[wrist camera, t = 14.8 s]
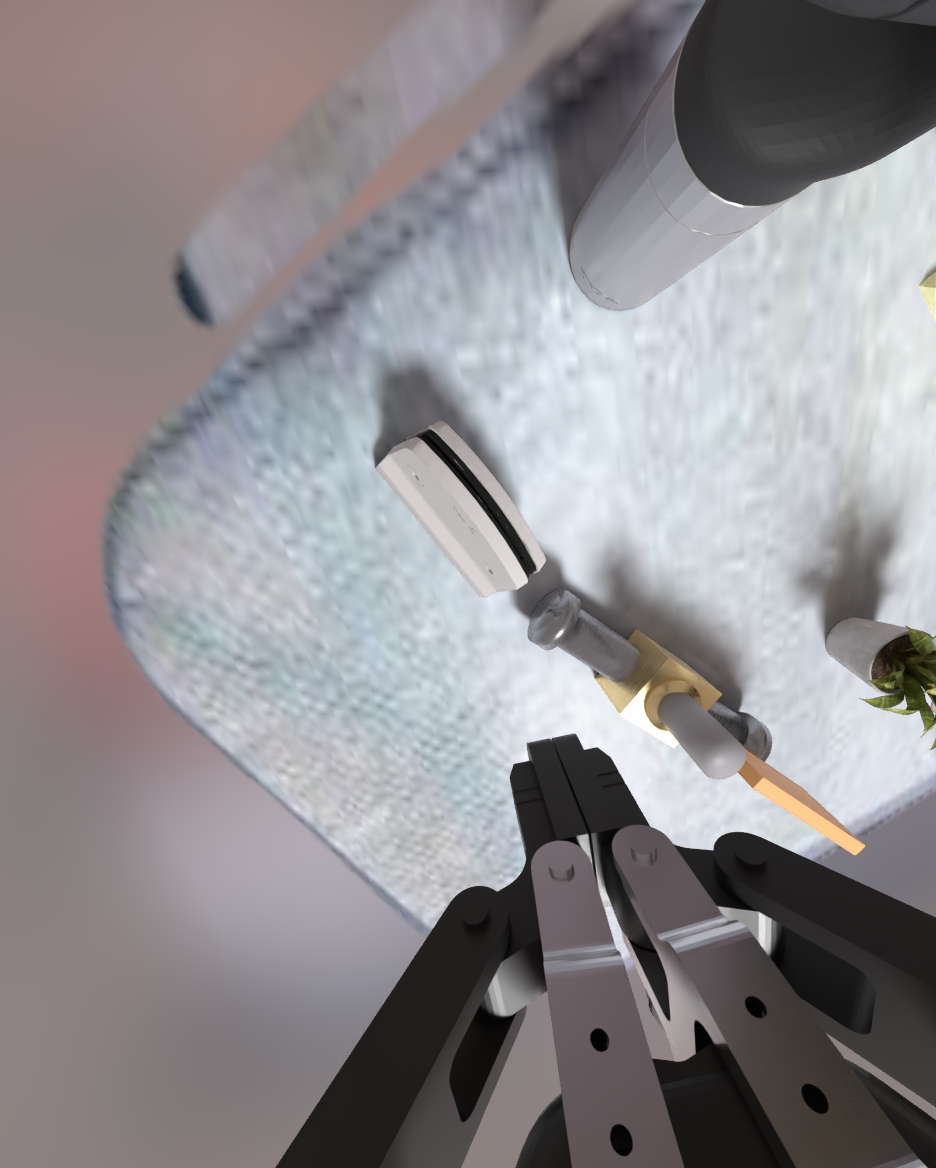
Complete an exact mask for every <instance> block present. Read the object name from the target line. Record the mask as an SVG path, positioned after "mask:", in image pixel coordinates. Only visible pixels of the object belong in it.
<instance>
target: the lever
mask: <svg viewBox="0 0 936 1168" xmlns="http://www.w3.org/2000/svg"><path fill="white" fill-rule="evenodd" d="M657 714H658V718H659V720H660V721H661V722H662V723H663V725H664V726H665V727H666V728H667V729H668V731H669V732H670V733H671V734H672V735H673V737H674V738H675V739H676V740H677V741H678V743H679V744H680V745H681V746H682V747H683V749H684V750H685V751H686V752H687V753H688V755H689V756H690V757H691V758H692V759H693V761H694V762H695V763H696V764H697V765H698V767H699V768H700V769H701V770H702V771H703V772H704V774H705V775H707V776H708V777H710V778H713V779H725V778H728V777H730V776H732V775H734V774H736V773H737V772H738V773H739V774H740V775H741V776H742V777H743V778H744V779H745V780H746V781H747V783H748V784H749V785H750V786H751V787H752V788H753V789H755V790H756V791H758V792H759V793H761V794H762V795H764V796H765V797H767V798H768V799H770V800H772V801H773V802H775V803H776V804H778V805H779V806H781V807H782V808H784V809H785V810H787V811H788V812H790V813H791V814H793V815H794V816H796V817H797V818H799V819H800V820H802V821H803V822H805V823H806V824H808V825H809V826H811V827H812V828H814V829H816V830H817V831H819V832H820V833H822V834H823V835H825V836H826V837H828V838H829V839H831V840H832V841H834V842H835V843H837V844H838V845H840V846H841V847H843V848H844V849H846V850H848V851H849V852H850V853H852V854H854V855H856V854H857V853H858V852H860V851H861V850H862V849H863V848H864V847H865V845H864V844H863V843H862V842H861V841H860V840H858V839H857V838H856V837H855V836H854V835H853V834H852V833H851V832H850V831H849V830H848V829H846V828H845V827H844V826H843V825H842V824H841V823H840V822H839V821H838V820H837V819H835V818H834V817H833V816H832V815H831V814H830V813H829V812H828V811H827V810H826V809H825V808H823V807H822V806H821V805H820V804H819V803H818V802H817V801H816V800H815V799H814V798H813V797H811V796H810V795H809V794H808V793H807V792H806V791H805V790H804V789H803V788H802V787H800V786H799V785H797V784H796V783H794V782H793V781H791V780H790V779H788V778H787V777H786V776H784V775H783V774H781V773H780V772H778V771H777V770H775V769H774V768H772V767H771V766H769V765H768V764H766V763H765V762H764V761H762V760H761V759H759V758H758V757H756V756H755V755H753V754H752V753H750V752H749V751H747V750H746V749H745V748H744V747H743V746H742V744H741V743H739V742H738V741H737V740H736V739H735V738H734V737H733V736H732V735H731V734H730V733H729V732H728V731H727V730H726V729H725V728H724V727H723V726H722V725H721V724H720V723H719V722H717V721H716V720H715V719H714V718H713V717H712V716H711V715H710V714H709V713H708V712H707V711H706V710H705V709H704V708H703V707H702V706H701V705H700V704H699V703H698V702H697V701H695V700H694V699H693V698H692V697H691V696H690V695H689V694H687V693H683V692H676V693H672V694H670V695H668V696H667V697H665V698H664V699H663V700H662V701H661V703H660V704H659V707H658V711H657Z"/></svg>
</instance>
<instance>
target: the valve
mask: <svg viewBox="0 0 936 1168" xmlns="http://www.w3.org/2000/svg"><path fill="white" fill-rule="evenodd" d="M528 639H529V640H530V641H531V642H533V643H535V644H536V645H538V646H539V647H541V648H542V649H544V650H551V649H553V648H555V647H557V646H558V647H559V648H561V649H562V650H564V651H566V652H567V653H569V654H570V655H572V656H573V657H575V658H576V659H578V660H580V661H581V662H583V663H584V664H586V665H587V666H589V667H591V668H592V669H594V670H595V671H597V672H598V673H600V674H599V675H598V676H597V677H596V681H597V682H598V684H599V685H600V686H601V688H602V689H603V691H604V692H605V694H606V695H607V696H608V698H609V699H610V701H611V702H612V703H613V705H614V706H615V708H616V709H617V711H618V712H619V713H620V715H622V716H623V717H625V718H627V719H628V720H630V721H631V722H633V723H635V724H636V725H638V726H639V727H641V728H643V729H644V730H646V731H647V732H649V733H651V734H652V735H654V736H655V737H657V738H659V739H660V740H662V741H663V742H665V743H667V744H668V745H670V746H671V747H673V748H675V747H676V746H677V744H678V741H677V740H676V739H675V738H674V737H673V735H672V734H671V733H670V732H669V731H668V729H667V728H666V727H665V726H664V725H663V723H662V722H661V721H660V720H659V718H658V714H657V711H658V707H659V704H660V703H661V701H662V700H663V699H664V698H665V697H667V696H668V695H670V694H672V693H676V692H683V693H687V694H689V695H690V696H691V697H692V698H693V699H694V700H695V701H697V702H698V703H699V704H700V705H701V706H702V707H703V708H704V709H705V710H706V711H707V712H708V713H709V714H710V715H711V716H712V717H713V718H714V719H715V720H716V721H717V722H719V723H720V724H721V725H722V726H723V727H724V728H725V729H726V730H727V731H728V732H729V733H730V734H731V735H732V736H733V737H734V738H735V739H736V740H737V741H738V742H739V743H741V744H742V746H743V747H744V748H745V749H746V750H747V751H749V752H750V753H752V754H753V755H755V756H756V757H758V758H759V759H761V760H762V761H764V762H765V760H766V759H767V758H768V756H769V754H770V751H771V748H772V737H771V734H770V731H769V730H768V728H767V727H766V726H765V725H764V724H763V723H762V722H760V721H759V720H757V719H756V718H754V717H753V716H751V715H749V714H747V713H743V712H733V711H732V710H730V709H729V708H727V707H726V706H725V705H723V704H722V703H720V702H719V701H717V700H718V699H719V698H720V696H721V695H722V693H721V692H720V691H718V690H717V689H716V688H715V687H714V686H712V685H711V684H710V683H709V682H708V681H706V680H705V679H704V678H703V677H702V676H701V675H699V674H698V673H697V672H696V671H695V670H693V669H692V668H691V667H690V666H689V665H687V664H686V663H685V662H684V661H682V660H681V659H680V658H678V657H677V656H675V655H674V654H672V653H671V652H669V651H668V650H666V649H665V648H664V647H662V646H661V645H659V644H658V643H656V642H655V641H653V640H652V639H650V638H649V637H647V636H646V635H645V634H643V633H642V632H640V631H639V630H637V629H636V630H635V631H634V632H633V633H632V634H631V636H630V637H629V638H628V639H625V638H624V637H622V636H621V635H619V634H618V633H616V632H615V631H613V630H612V629H610V628H609V627H607V626H606V625H604V624H603V623H601V622H600V621H598V620H597V619H595V618H594V617H592V616H591V615H589V614H588V613H586V612H585V611H584V610H582V609H581V601H580V599H579V598H578V597H576V596H575V595H573V594H572V593H570V592H569V591H567V590H566V589H564V588H559V589H557V590H555V591H553V592H551V593H549V594H547V595H546V596H545V597H544V598H543V599H542V600H541V601H540V602H539V603H538V605H537V606H536V608H535V610H534V611H533V613H532V616H531V619H530V623H529V627H528Z"/></svg>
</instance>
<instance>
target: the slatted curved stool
mask: <svg viewBox="0 0 936 1168" xmlns="http://www.w3.org/2000/svg"><path fill="white" fill-rule="evenodd" d="M919 287H920V289H921V292H922V294H923V296H924V298H925V300H926V302H927V304H928V307H929V309H930V311H931V313H932V315H933V317H934V320H935V321H936V271H935V272H934V273H933V274H932V275H931V276H929V277H928V278H927V279H926V280H925V281H923V282H922V283H921V284H920V285H919Z"/></svg>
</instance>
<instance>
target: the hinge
mask: <svg viewBox="0 0 936 1168" xmlns="http://www.w3.org/2000/svg"><path fill="white" fill-rule="evenodd" d="M405 439H406V440H407V441H404V442H402V443H400V444H398V445H396V446H394V447H393V448H392V449H391V450H390V451H389V453H388V454H387V455H386V456H385V457H384V458H383V460H382V461H381V462H380V463H379V464H378V465H377V467H376V468H375V469H376V470H377V471H378V472H379V473H380V475H381V476H382V477H383V478H384V480H385V481H386V482H387V483H388V485H389V486H390V487H391V488H392V490H393V491H394V492H395V493H396V494H397V496H398V497H399V498H400V499H401V501H402V502H403V503H404V504H405V506H406V507H407V508H408V509H409V510H410V512H411V513H412V514H413V515H414V517H415V518H416V519H417V520H418V522H419V523H420V524H421V525H422V527H423V528H424V529H425V530H426V531H427V533H428V534H429V535H430V536H431V538H432V539H433V540H434V541H435V543H436V544H437V545H438V546H439V548H440V549H441V550H442V551H443V552H444V554H445V555H446V556H447V557H448V559H449V560H450V561H451V562H452V564H453V565H454V566H455V567H456V568H457V570H458V571H459V572H460V573H461V575H462V576H463V577H464V578H465V580H466V581H467V582H468V583H469V585H470V586H471V587H472V588H473V589H474V591H475V592H476V593H477V594H478V596H479V597H484V598H486V597H488V596H490V595H492V594H494V593H496V592H500V591H512V590H517V589H519V588H520V587H522V586H523V585H525V584H526V583H528V578H529V574H535V573H538V572H539V571H540V569H541V568H542V566H543V565H544V563H545V562H546V558H545V556H544V554H543V552H542V550H541V548H540V546H539V544H538V542H537V540H536V538H535V536H534V535H533V533H532V531H531V530H530V528H529V526H528V525H527V523H526V521H525V520H524V518H523V517H522V515H521V513H520V512H519V510H518V509H517V508H516V506H515V505H514V503H513V502H512V500H511V499H510V497H509V496H508V495H507V493H506V492H505V490H504V489H503V488H502V486H501V485H500V484H499V482H498V481H497V480H496V478H495V477H494V476H493V475H492V473H491V472H490V471H489V470H488V469H487V467H486V466H485V465H484V464H483V462H482V461H481V460H480V459H479V458H478V457H477V455H476V454H475V453H474V452H473V451H472V450H471V449H470V447H469V446H468V445H467V444H466V443H465V442H464V441H463V440H462V439H461V438H460V437H459V436H458V435H457V434H456V433H455V432H454V431H453V430H452V429H451V428H450V427H449V425H448V424H446V423H445V422H443V421H439V422H437V423H434V424H432V425H430V426H428V427H426V428H424V429H422V430H420V431H418V432H415V433H413V434H411V435H409V436H407V437H405Z"/></svg>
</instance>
